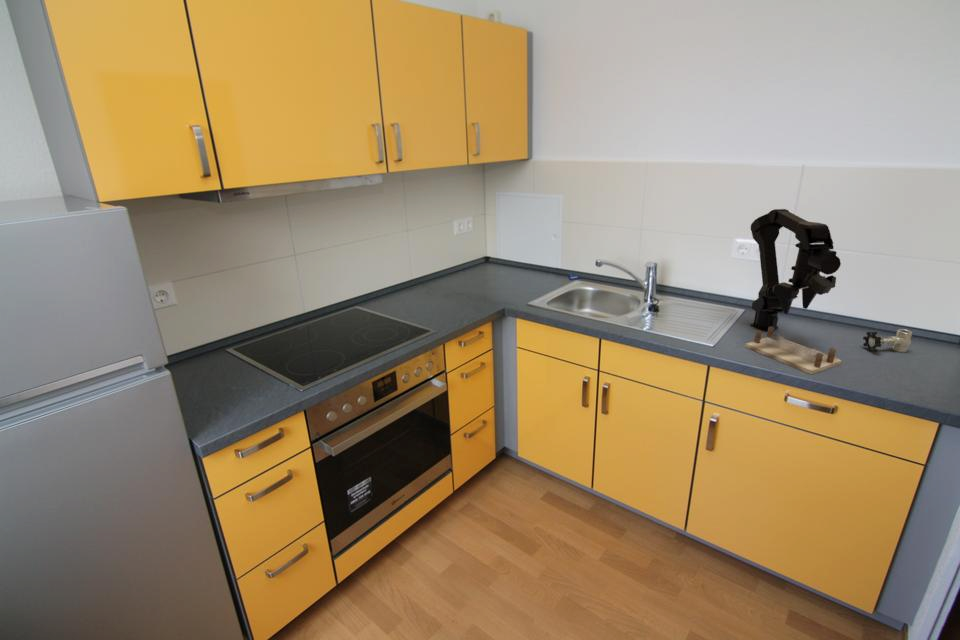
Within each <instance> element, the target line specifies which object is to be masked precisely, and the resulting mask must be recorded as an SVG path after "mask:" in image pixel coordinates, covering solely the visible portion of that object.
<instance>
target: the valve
mask: <svg viewBox="0 0 960 640" xmlns="http://www.w3.org/2000/svg"><path fill="white" fill-rule="evenodd" d="M876 335H878V332H877V331H872V332H871V331H867V332H866V335H865V336H863V337H862V339H863V340H864V341H865V342H863V344H862V345H863V347H867V349H866V350H867V352H873V353H874V352H878V351H879V349H877V348H881V347H882V345H888V346H890V347H891V348H893V349H892V350H893V351H895V352H898V351H899V353H907V351H908V348H909V347H908V346H910V345H911V344H912V343H911V341H912V340H911V338H912V335H913V332H912V331H911V330H908V329H904V328H900V329H897V331H896V335H894V336H890V335H889V336H888V337H887V338H881V336H876Z"/></svg>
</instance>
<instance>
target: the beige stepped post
mask: <svg viewBox="0 0 960 640" xmlns="http://www.w3.org/2000/svg"><path fill="white" fill-rule="evenodd" d="M765 337H766V342H765V344H767V345H769V346H772V347H777V348H780V349H782V350H785V351H787V352H790V353H792V354H795V355H797V356H800V357H802V359H804V360H807V361H809V362H812V363H813V362H815V359H816V355H817V353H822V354H823V352H822V351H820V350H817V349H815V348H810V347H808V346H805V345H802V344H800V345H799V343H797V342H794V341H792V342H791V340H789V341H788V339H786V338H785V337H783V336H781V335H778V334H773V335H771V336H768V337H767V336H765ZM785 339H786V340H785ZM793 342H794V343H793ZM796 343H797V344H796ZM801 345H802V346H801ZM804 346H805V347H804ZM807 347H808V348H807ZM809 348H810V349H809Z"/></svg>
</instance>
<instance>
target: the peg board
mask: <svg viewBox="0 0 960 640" xmlns="http://www.w3.org/2000/svg"><path fill="white" fill-rule="evenodd" d="M774 330H775V329H774V327H769V328H768V331H767V334H766V336H765V337H762V332H763V330H762V329H756V330H755V335H754V340H753V341H750V342H746V343H745V345H744V347H745V348H746V349H750V350H751V351H754V352H757V353H759V354H762V355H764V356H765V357H766V356H767V357H768V358H771V359H773V360H775V361H777V362H780V363H782V362H783V363H782V364H785V365H788V366H790V367H792V368H794V369H797V370H800V371H802V372H804V373H807V374H809V375H813V374H814V375H815V374H818V373H819V372H822V371H825V370H828V369H831V368H834V367H836V366H839V365H842V361H843V360H842V359H839V358H837V357H836V352H837V350H836V349H835V348H829V349H828V354H826V353H823V354H822V353H817V355H816V359H815V362H813V363H812V362H809V361H807V360H804V359H802V357H800V356H797V355H795V354H792V353H790V352H787V351H785V350H782V349H780V348H777V347H772V346H769V345H767V344H765V342H766V337H768V336H771V335H774ZM784 339H785V340H788V339H786V338H784ZM788 341H791V340H788ZM791 342H793V343H796V344H799V343H797V342H794V341H793V340H792V341H791ZM799 345H801V346H804V347H807V348H809V349H811V347H808V346H805V345H802V344H799Z"/></svg>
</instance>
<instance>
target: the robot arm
mask: <svg viewBox="0 0 960 640" xmlns="http://www.w3.org/2000/svg"><path fill="white" fill-rule="evenodd" d="M782 228H785V229H787V230H788V231H790V232H792V233H793V234H794V236H795V237H794V238H795V239H796V240H797V241H798V243H796V244H795V245H794V246H795V247H796V248H798V252H797V255H796V256H797V257H796V260H795V264H794V265H793V266H791V269H790V270H792V271H793V273H792V278H788V282H784V281H783V282H780V279H779V270H778V260H777V252H776V251H777V250H776V249H777V248H776V240H777V239H778V237H779V235H780V230H781V229H782ZM750 231H751V236H752V239H754V241H755V242H756V244H757V245H758V249H759V251H758V252H759V260H760V261H759V262H760V270H761V272H760V273H761V279H762V280H761V281H762V285H761V288H760V289H759V291H758V294H757V295H758V296H757V297H758V298H756V299H755V300H754V301H752V303H751V309H752V310H753V311H755V313H754V319H753V322H751V323H750V326H752V327H754V328H757V329H758V330H761V331H763V332H768V328H769V327H774V330H775V329H778V328H779V326H778V321H779V317H778V315H779V313H783V314H785V315H788V314H789V311H790V309H791V306H792V303H793V301H794V300H796V299H797V298H799V296H798V294H799V293H800V290H801V293H802V294H801V296H802V297H801V298H802V308H803V309H804V310H806V309H807V310H808V307H809V306H810V305H811V303H812V301H813V300H814V298H815V297H816V296H817V295H820V296H821V295H824V294H828V293H830V291H831V290H832V289H834V288H835V287H836V283H837V277H836V276H834V275H833V274H834V273H836V272H837V271H838V270H839V269H840V268H841V264H842V263H841V259H840V258H839V256H837V251H836V250H834V248H835V247H834V241H833V239H832V234H831V231H830V228H829V226H828V225H827V224H825V223H821V222H815V221H814V222H813V221H808V220H806V219H804V218H802V217H800V216H798V215H796V214H795V213H793V212H791V211H789V209H786V208H779V209H777V208H774V209H772V210H770V211H769V212H768V213H766V214H763V215H761V216H758V217H757V218H756V219H754V221H753V222H752V223H751V224H750ZM820 273H822V274H824V275H821V274H820ZM825 275H828V276H825Z"/></svg>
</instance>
